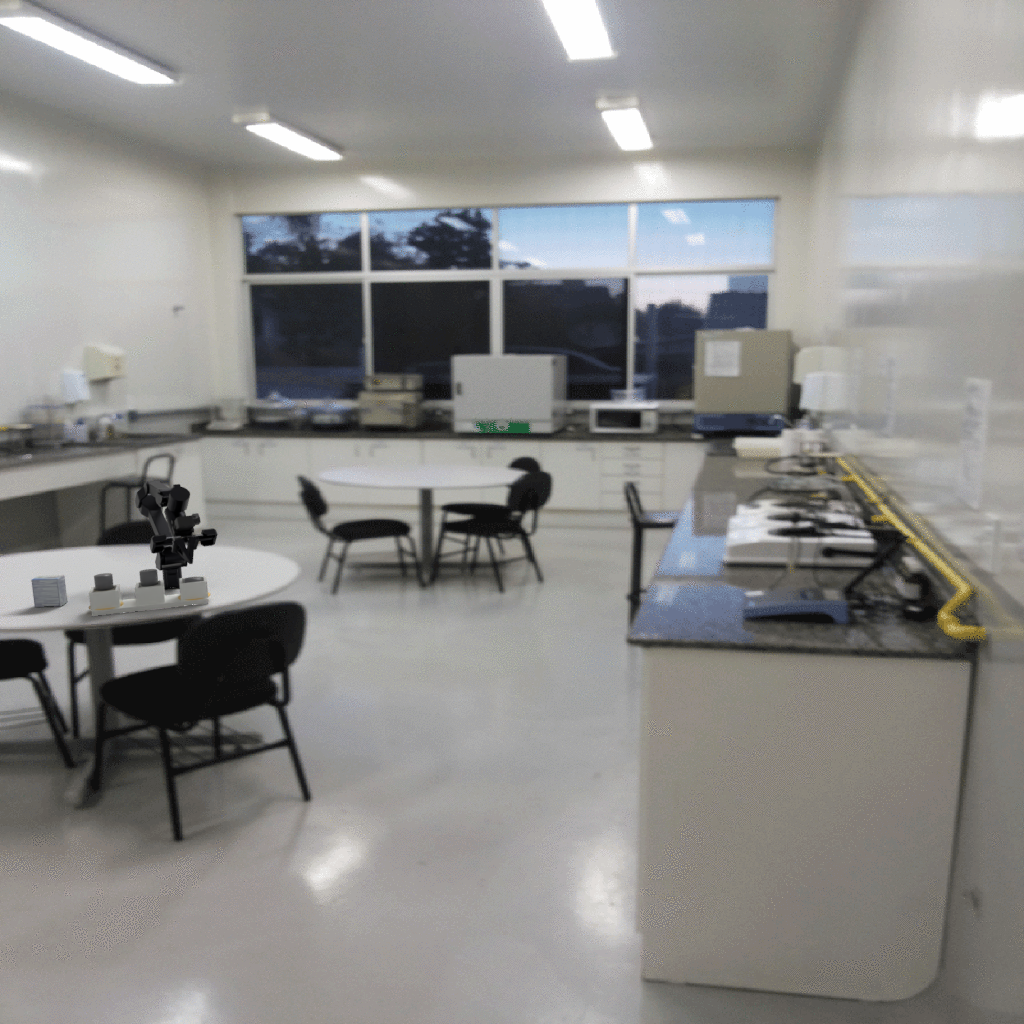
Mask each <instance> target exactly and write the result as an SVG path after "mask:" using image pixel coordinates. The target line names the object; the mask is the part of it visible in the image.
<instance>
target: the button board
mask: <svg viewBox="0 0 1024 1024" xmlns="http://www.w3.org/2000/svg"><path fill="white" fill-rule="evenodd" d="M198 577H201V578H202V581H200V582H190V583H185V582H184V579H185V578H186V577H182V578H179V585H180V588H179V593H175V594H167V595H166V593H165V590H166V589H164V580H163V579H161V580H159V579H158V584H157V585H153V586H141V584H140V582H135V585H134V595H135V598H127V599H122V595H121V594H122V593H121V585H120V584H113V586H114V588H113V589H111V590H106V591H96V590H95V586H91V587H90V590H89V592H88V597H89V606H88V609H89V610H90V611H91V612H90V613H91V617H92V616H93V617H99V616H98V615H102V616H107V615H106V614H111V615H114V614H113V613H120V614H124V613H123V612H129V613H136V612H135V611H138V612H146V611H145V610H147V611H154V610H163V609H164V608H165V609H172V608H171V607H175V608H178V607H177V606H184V605H192V604H193V606H195V605H194V604H202V605H208V604H209V603H208V598H210V596H211V593H210V592H209V590H208V579H207V576H206V575H202V576H201V575H200V576H198ZM184 607H185V606H184Z"/></svg>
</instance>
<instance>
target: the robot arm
mask: <svg viewBox="0 0 1024 1024" xmlns="http://www.w3.org/2000/svg"><path fill="white" fill-rule="evenodd" d="M190 497H191V492H190V490H188V488H186V487H184V486H181V484H180V483H178V484H177V483H176V484H173V486H172V487H170V486H167V485H166V484H164V483H163V482H162V481H161V480H149V481H144V483H143V486H142V487H141V488H140V489H139V490H137V491H136V494H135V499H134V501H135V504H134V505H135V507H136V509H138V511H139V514H140V515H142V516H144V517H146V518H148V520H149V523H150V526H151V528H152V530H153V533H154V535H152V537H151V538H150V544H149V550H150V552H151V554H156V555H155V556H156V557H155V562H154V563H155V569H156V570H157V571H162V580H164V590H170V589H180V585H179V578H183V572H182V568H187V567H188V564H189V565H193V563H194V555H195V554H194V553H195V552H194V551H196V550H197V549H198V546H199V542H200V545H201V546H202V547H212V546H214V545H215V544H216V541H217V537H218V532H217V529H215V528H213V527H212V528H203V529H201V532H200V533H198V534H194V533H195V528H194V527H195V526H197V525H200V523H201V517H200V514H199V513H197V512H195V513H192V514H191V515H187V513H186V510H187V509H188V506H189V502H190ZM163 510H164V511H163ZM186 546H187V547H186Z"/></svg>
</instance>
